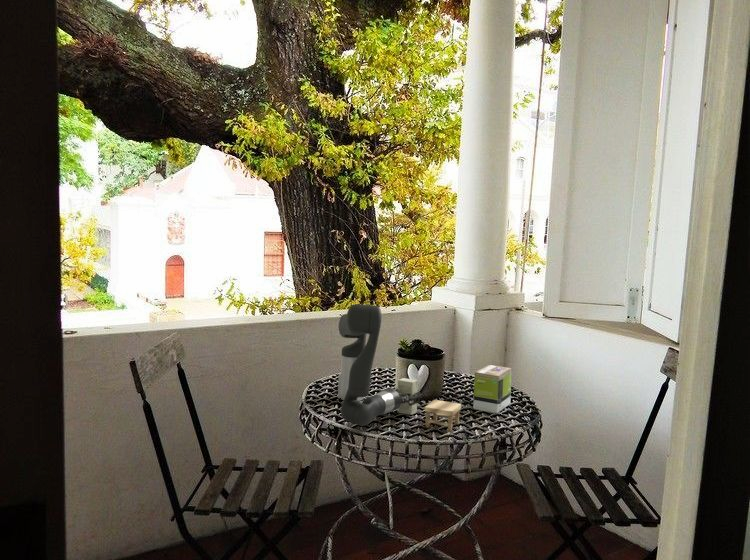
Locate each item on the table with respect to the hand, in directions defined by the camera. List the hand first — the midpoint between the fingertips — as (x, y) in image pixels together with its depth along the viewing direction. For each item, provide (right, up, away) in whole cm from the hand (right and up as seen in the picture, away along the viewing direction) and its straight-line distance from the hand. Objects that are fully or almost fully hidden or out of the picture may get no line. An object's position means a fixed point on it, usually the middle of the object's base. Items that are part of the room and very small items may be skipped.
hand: (410, 392), depth 237 cm
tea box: (+32, -8, +11) cm, 34 cm away
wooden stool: (+10, -9, -14) cm, 19 cm away
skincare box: (-2, -7, -1) cm, 7 cm away
